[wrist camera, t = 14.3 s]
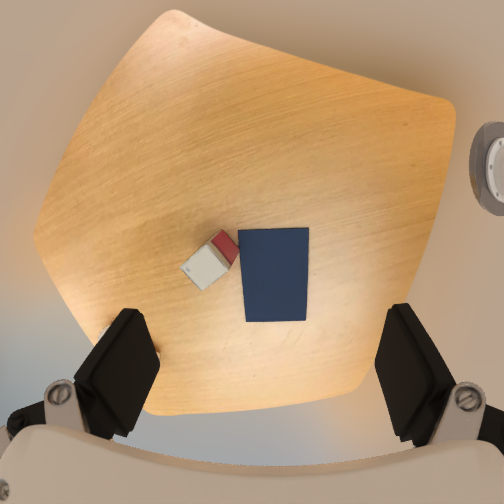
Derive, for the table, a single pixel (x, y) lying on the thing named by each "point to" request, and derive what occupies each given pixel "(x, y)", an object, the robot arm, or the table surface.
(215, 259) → the small box
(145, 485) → the robot arm
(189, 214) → the table surface
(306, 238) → the cloth
